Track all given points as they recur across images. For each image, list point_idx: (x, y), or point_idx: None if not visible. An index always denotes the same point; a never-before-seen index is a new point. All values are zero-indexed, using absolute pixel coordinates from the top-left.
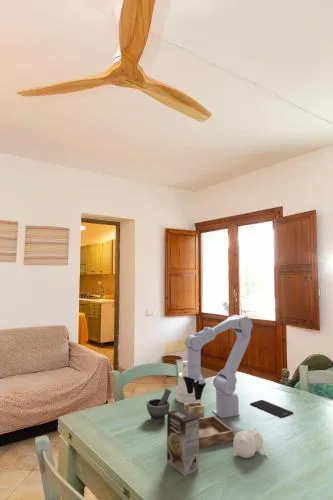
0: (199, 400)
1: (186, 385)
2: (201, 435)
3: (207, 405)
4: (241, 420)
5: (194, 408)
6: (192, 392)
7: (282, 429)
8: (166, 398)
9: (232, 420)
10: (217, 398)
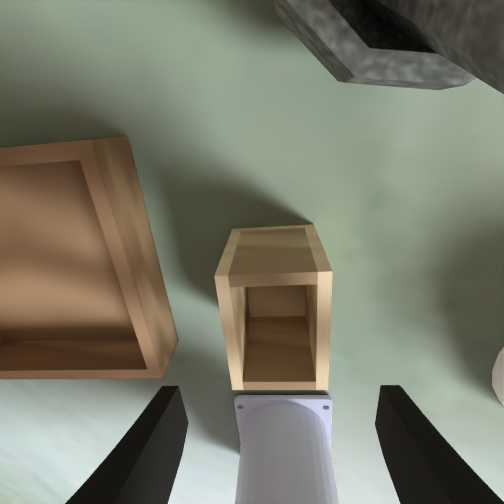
0: (501, 399)
1: (474, 499)
2: (29, 228)
3: (419, 405)
4: (196, 444)
5: (222, 314)
6: (378, 432)
7: None
8: (451, 13)
9: (205, 419)
10: (282, 498)
